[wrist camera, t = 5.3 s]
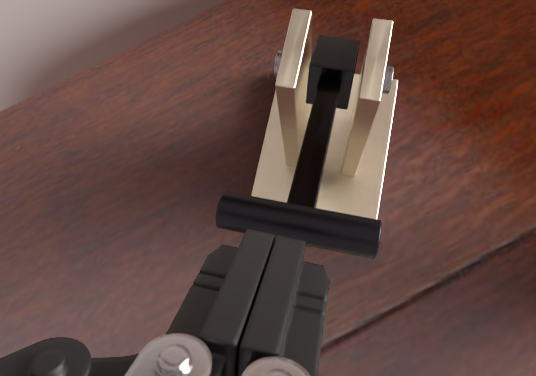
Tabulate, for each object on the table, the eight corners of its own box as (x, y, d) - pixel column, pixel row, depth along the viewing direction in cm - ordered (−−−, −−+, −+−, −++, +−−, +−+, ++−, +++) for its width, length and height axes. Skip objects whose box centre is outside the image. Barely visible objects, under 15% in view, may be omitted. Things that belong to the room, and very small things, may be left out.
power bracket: (372, 237, 31) (414, 186, 19) (249, 213, 33) (215, 151, 20) (395, 87, 35) (444, -39, 22) (282, 71, 36) (269, -58, 24)
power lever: (370, 272, 17) (383, 237, 15) (217, 242, 18) (212, 204, 16) (387, 83, 24) (397, 44, 23) (280, 68, 25) (282, 29, 23)
